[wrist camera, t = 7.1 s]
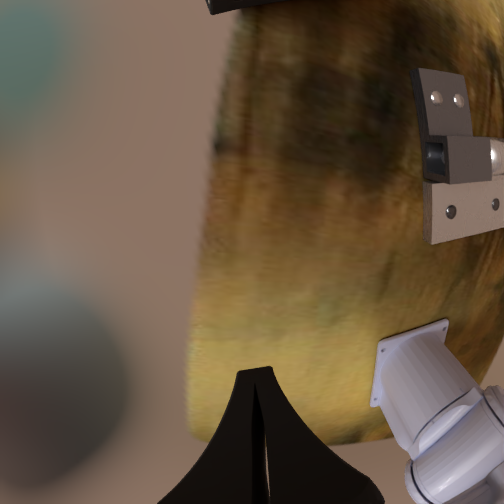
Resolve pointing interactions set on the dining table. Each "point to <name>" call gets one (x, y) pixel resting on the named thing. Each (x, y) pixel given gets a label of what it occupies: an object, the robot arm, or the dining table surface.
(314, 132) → the dining table surface
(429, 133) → the loose leaf
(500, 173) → the fixed leaf
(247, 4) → the ammunition clip
